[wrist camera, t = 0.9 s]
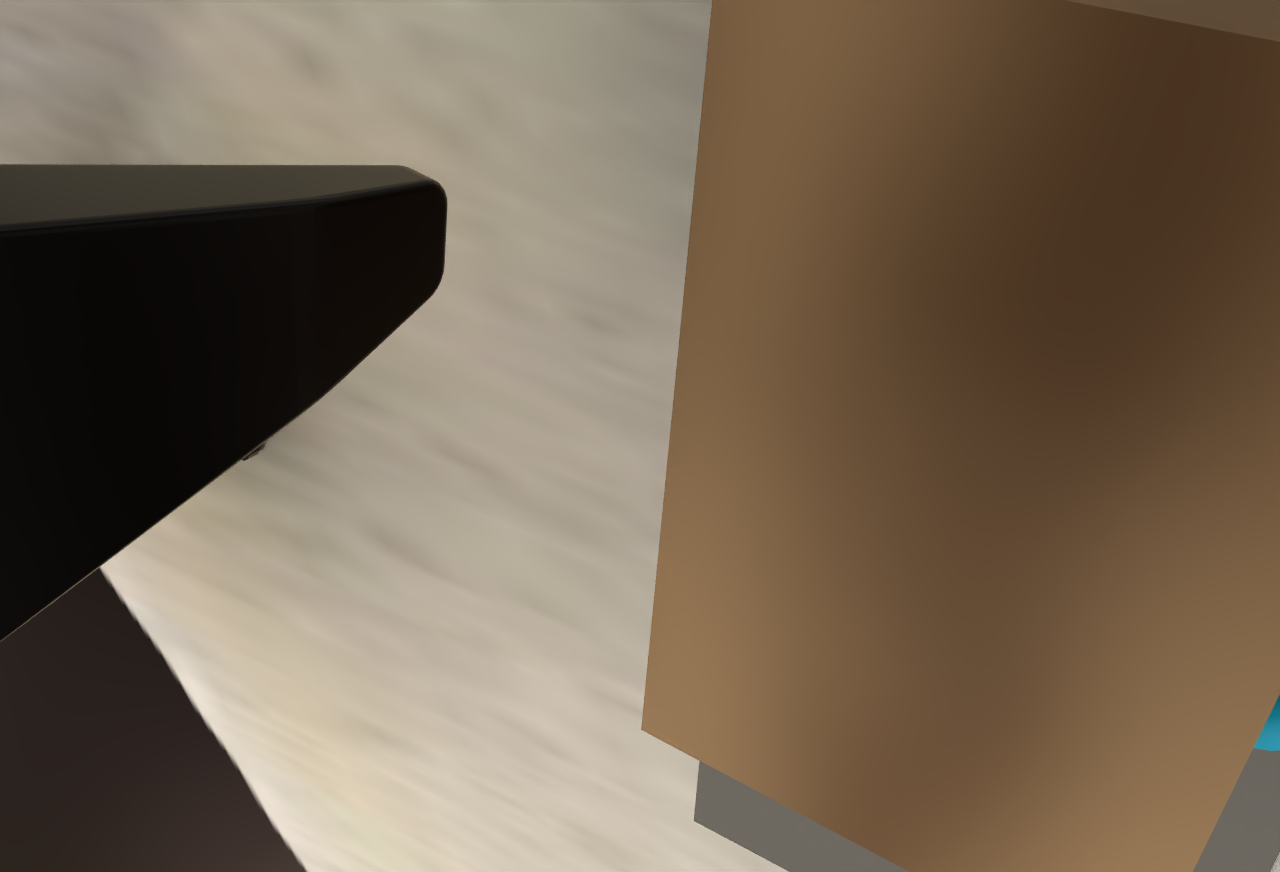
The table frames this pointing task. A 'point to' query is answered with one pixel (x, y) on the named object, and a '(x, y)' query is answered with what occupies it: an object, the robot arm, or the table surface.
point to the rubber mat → (838, 868)
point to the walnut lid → (980, 425)
